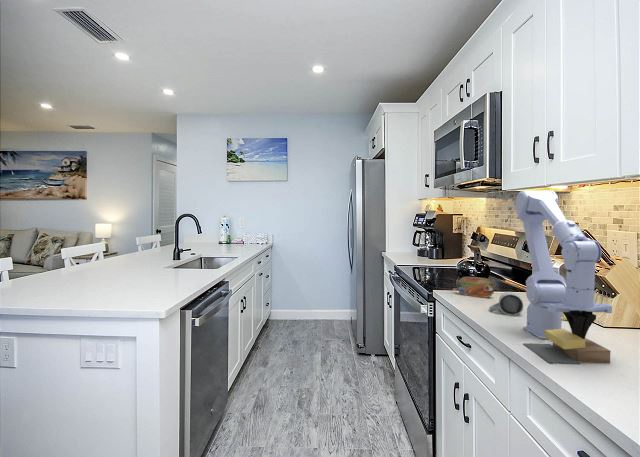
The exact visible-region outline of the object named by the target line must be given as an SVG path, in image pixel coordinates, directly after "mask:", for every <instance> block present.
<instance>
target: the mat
mask: <svg viewBox="0 0 640 457" xmlns="http://www.w3.org/2000/svg"><path fill="white" fill-rule="evenodd" d="M522 345H523V346H524V347H526V348H527V349H529V350H530V351H531V352H532V353H534V354H535V355H537V356H538V357H539V358H541V359H542V360H544V361H545V362H546V363H548V364H553V363H559V364H562V365H563V364H566V365H569V364H570V365H571V364H572V365H580V364H581V362H578V361H576V360H575V359H573V358H572V357H570V356H569V355H567V354H565V353H564V352H562V351H561V350H559V349H558V348H556V347H554V346H553V344H552V343H527V342H526V343H525V342H524V343H522ZM559 364H558V365H559Z"/></svg>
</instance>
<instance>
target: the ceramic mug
mask: <svg viewBox="0 0 640 457" xmlns="http://www.w3.org/2000/svg"><path fill="white" fill-rule="evenodd" d="M488 309H489V310H490V312H498V311H501V312H502V313H503V314H504V315H506V316H510V317H513V316H514V317H516V316H518V315H520V314H521V313H522V312H523V309H524V301H523V299H522V298H521V297H520V296H519V294H517V293H515V292H513V291H506V292H504V293H502V294H501V295H500V296H499V299H498V302H497V303H496V302H495V303H494V304H491V305H489V308H488Z"/></svg>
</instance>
